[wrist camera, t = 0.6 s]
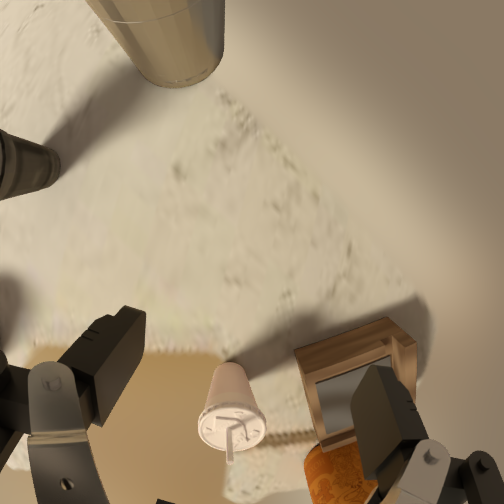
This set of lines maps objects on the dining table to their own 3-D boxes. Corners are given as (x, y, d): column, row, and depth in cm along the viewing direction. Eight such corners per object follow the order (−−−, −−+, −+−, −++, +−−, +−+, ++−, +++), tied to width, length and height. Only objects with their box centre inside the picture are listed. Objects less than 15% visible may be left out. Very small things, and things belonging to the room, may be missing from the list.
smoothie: (235, 342, 33) (242, 430, 20) (267, 378, 35) (288, 466, 21) (191, 370, 34) (178, 460, 20) (225, 403, 35) (228, 492, 21)
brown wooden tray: (294, 349, 34) (308, 384, 27) (387, 316, 34) (416, 342, 28) (313, 427, 37) (326, 462, 30) (391, 397, 37) (413, 426, 31)
